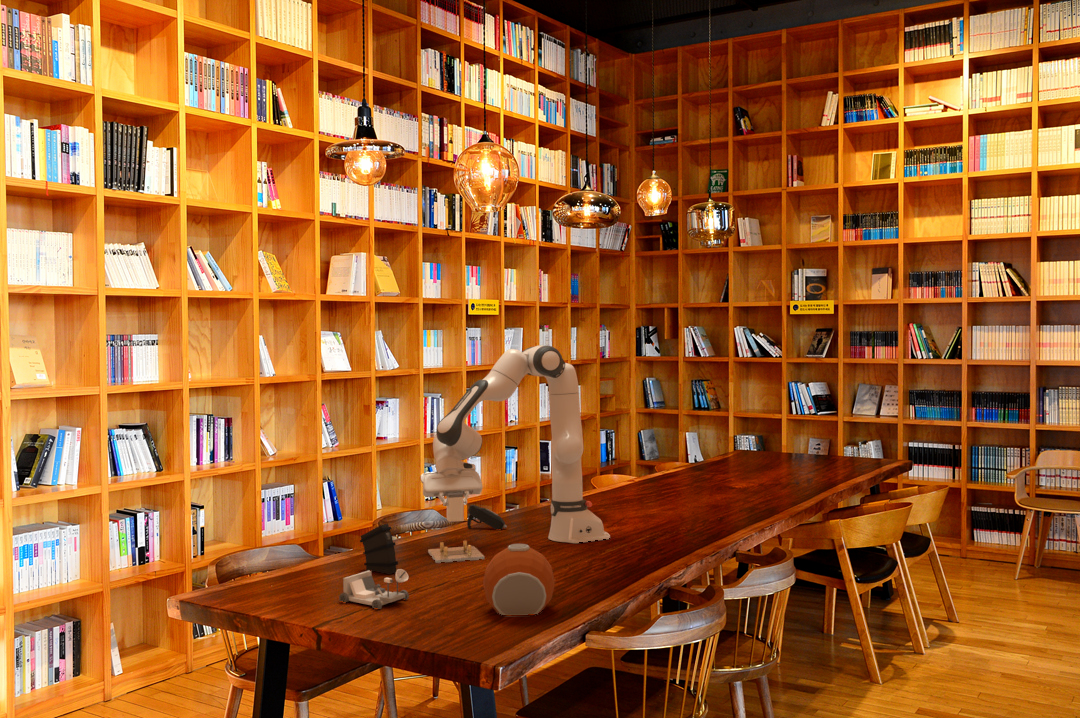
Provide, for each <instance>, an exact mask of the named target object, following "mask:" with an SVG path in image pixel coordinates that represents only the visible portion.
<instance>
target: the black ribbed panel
mask: <svg viewBox="0 0 1080 718" xmlns="http://www.w3.org/2000/svg"><path fill="white" fill-rule="evenodd" d="M391 530H392V527H391V526H389V523H384V524H381V525H379V526H377V527H375V528H373V529H371V530H369V531H367V532H365V533H363V534H362V535H361V534H360V540H359V543H360V544H361V543H362V545H363V549H364V551H363V552H362V554H363V555H365V562H364V566H365V571H368V570H371V572H374V571H377V572H376V573H379V572H381V573H380V574H384V573H386V574H385V575H388V574H391V575H393V574H392V573H394V574H396V571H397V566H398V565H399V562H398V560H396V551H395V546H396V542H395V541H394V540H393V535H392V532H391Z"/></svg>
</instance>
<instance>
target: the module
mask: <svg viewBox="0 0 1080 718" xmlns="http://www.w3.org/2000/svg"><path fill="white" fill-rule="evenodd" d="M464 498H465V497H464V494H463V493H462V492H454V493H447V496H446V499H448V506H446V521H448V522H449V523H451V522H463V521H464V519H465V517H464V515H465V513H464V512H465V511H464V510H465V509H464V508H465V505H464Z"/></svg>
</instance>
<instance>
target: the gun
mask: <svg viewBox="0 0 1080 718" xmlns="http://www.w3.org/2000/svg"><path fill="white" fill-rule="evenodd" d="M467 511H468V513H469V516H468V518H467V523H466V525H467V528H468V529H470V530H471V529H472V521H473V522H475V523H477V524H481V523H483V524H486V525H487V526H489V527H491V528H492V529H495V530H496V529H502V530H503V529H507V528H508V525H506V522H505V520H504V519H503V518H502V517H501V516H500V515H499V514H498V513H496V512H494V511H492V510H490V509H488V508H485V507H480V506H478V505H475V504H470V505H469V507H468V510H467Z"/></svg>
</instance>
